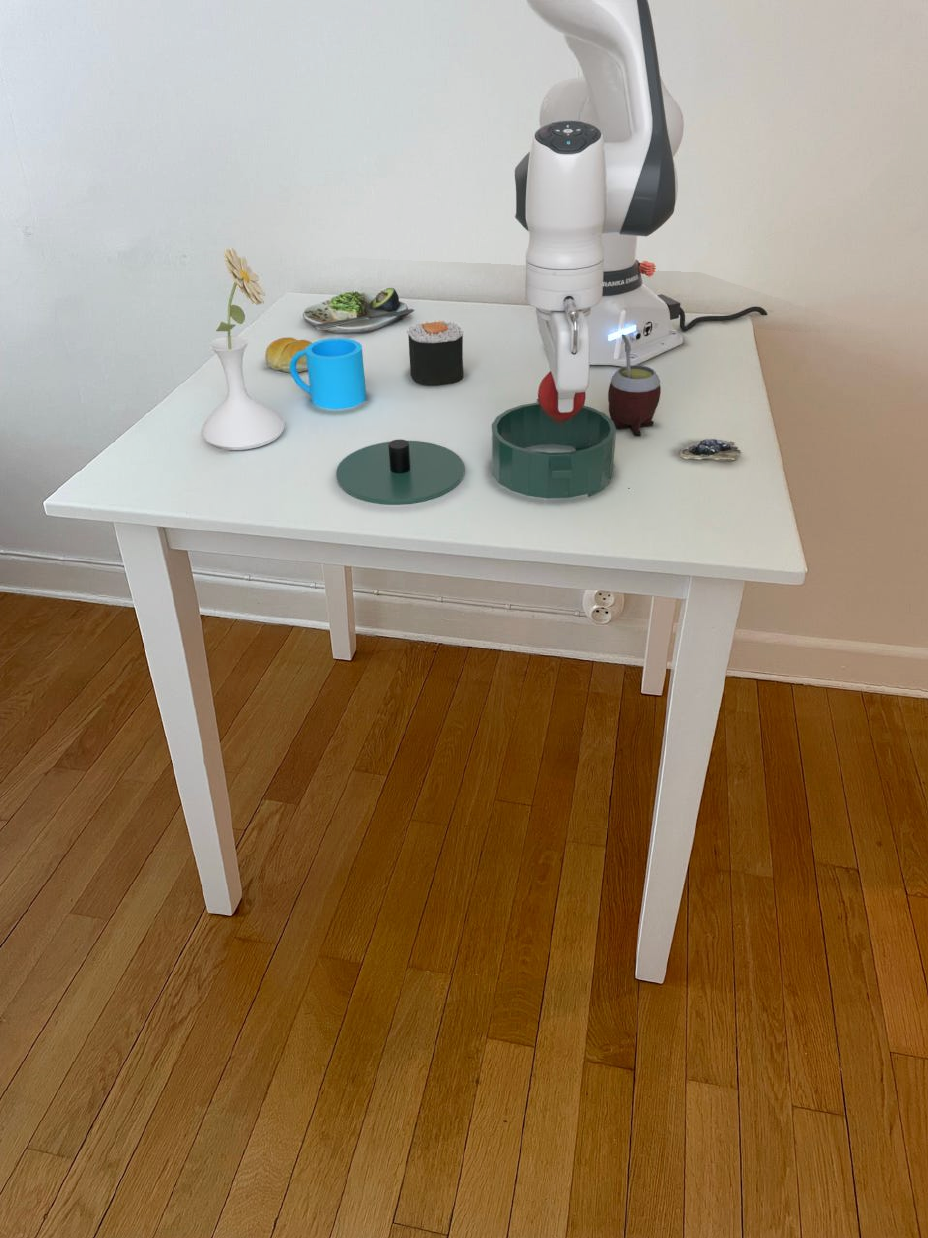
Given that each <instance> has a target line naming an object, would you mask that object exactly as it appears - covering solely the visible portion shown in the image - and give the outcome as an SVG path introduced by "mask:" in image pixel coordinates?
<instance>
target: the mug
mask: <svg viewBox="0 0 928 1238" xmlns="http://www.w3.org/2000/svg"><path fill="white" fill-rule="evenodd" d="M304 355H306V360H307V368H308V370H307V375H308V384H309V385H308V384H307V383H306V382H305V381H303V379H302V377H301V376H300V375H299V372H297V362H298V360H299V358H301V357H302V356H304ZM363 356H364V355H363V345H362V344H361V343H360V342H359V341H356V340H355V339H350V338H343V337H342V338H340V337H335V338H334V337H333V338H326V339H320V340H317V341H314V342H312V344H310V345H309V346H308V347H306V349H305V350H302V351H299V352H298V353H296V354H295V355H294V356H293V357H292V360H291V362H290V372H289V374H290V375H291V378H292V379H293V381H294V383H295V384H296V386H298V387H300V389H301V390H302V391H305V392H306V393H308V394H309V395H310V398H311V403H312V405H314V406H316V407H318V408H321V409H324V410H325V409H326V410H344V409H350V408H353V407H356V406H359V405H361V404H362V403H364V402H367V392H366V391H367V389H366V379H365V378H366V377H365V369H364V368H365V367H364V357H363Z"/></svg>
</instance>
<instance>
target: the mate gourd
mask: <svg viewBox="0 0 928 1238" xmlns="http://www.w3.org/2000/svg"><path fill="white" fill-rule="evenodd" d="M621 336H622V338H623V340H624V342H625V352H626V364H627V366H625V367H622V366H620V368H618V369H617V370H616V371H615V372H614V374H613V375H612V377H611V379H610V383H609V386H608V392H607V401H608V413H609V418H610V419H611V420H612V421H613V422H614V425H615V427H616V431H617V430H627V429H628V430H630V432H631V433H632V434H633V435H634V437H641V436H642V432H641V430H640V428H646V427H647V428H648V427H654V420H653V419H654V415H655V413H656V411H657V408H658V406H659V402H660V399H661V392H662V391H661V390H662V388H661V387H662V386H661V380H660V377H659V375H658V374H657V372H656V371H655V370H654V369H653V368H651V367H649V366H646V365H645V366H644V365H640V364H637V365H630V351H631V345H630V344H629V340H628V338H627V337H626V336H625V335H624V334H622V335H621Z"/></svg>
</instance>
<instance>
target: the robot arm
mask: <svg viewBox="0 0 928 1238" xmlns="http://www.w3.org/2000/svg"><path fill="white" fill-rule="evenodd" d="M524 2H525V3H526V4H527V6H528V8H529V9H530V10H531V12H532V14H534V15H535V16H536V17H537V18H538V19H539V20H540V21H541V22H542V23H544V24H545V25H547V26H548V27H549V28H551V29H553V31H556V32H558V33H560V34H562V36H563V39H564V42H565V44H566V46H567V48H568V49H569V51H570V52H571V53H572V54H573V55H574V57H575V59H576V61H577V63H578V65H579V67H580V70H581V72H582V75H581V76H575V77H574V76H573V77H570V78H566V79H562V80H559V81H557V83H554V84H553V86H551V87H550V88H549V90H548V91H547V92H546V93H545V95H544V97H543V100H542V101H541V105H540V109H539V117H538V118H539V120H538V121H539V128H538V129H537V130H536V131H535V132H534V133H533V135H532V139H531V143H530V150H529V151H528V152H527V153H526V154H525V155H524V156H523V158H522V159H521V160H520V161H519V162H518V164H517V165H516V166H515V168H514V182H515V215H514V218H515V219H516V220H517V221H518V223H519V224H520V225H521V226H522V227H523V228H524V229H525V230H526V231H527V232H528V245H527V247H526V251H525V258H524V259H525V261H524V262H525V273H524V274H525V275H524V276H525V278H524V279H525V282H524V283H525V284H524V285H525V286H524V287H525V290H524V291H525V293H524V294H525V297H524V299H525V301H526V303H527V304H528V305H530V306H531V307H534V308H535V313H536V320H537V326H538V327H537V328H538V330H539V336H540V338H541V342H542V345H543V348H544V351H545V355H546V359H547V362H548V365H549V366H548V367H549V372H550V371H551V372H552V376H553V379H554V383H555V386H556V390H557V392H558V394H557V407H558V410H559V412H561V413H563V412H571V411H572V410H573V401H574V396H575V393H580V392H585V393H586V392H587V391H588V388H589V384H590V366H615V367H625V366H627V364H626V352H625V342H624V340H623V338H622V336H621V335H622V334H624V335H625V336H626V337H627V338H628V340H629V344H630V345H631V351H630V365H640V364H641V363H643V362H644V363H645V362H646V361H647V360H648V361H649V360H650V359H652V358H655V357H657V356H658V355H662V354H663V353H665V352H668V351H670V350H672V349H675V348H676V347H678V346H681V345H683V344H684V337H683V335H682V334H681V333H680V332H679V331H677V330H676V329H674V328H673V327H671V321H672V320H677V319H679V329H680V330H681V331H682V332H688V331H689V330H691V329H692V328H693V327H694V326H695V325H697V324H700V323H704V322H726V321H727V322H728V321H733V320H737V319H739V318H743V317H744V316H747V315H749V314H751V313H754V312H757V313H759V314H760V315H761V316H767V315H768V312H767V311H766V310H765V309H764V308H763V307H761V306H751V307H748V308H745V309H742V310H741V311H738V312H736V313H733V314H728V315H704V316H699V317H695V318H694V319H692V320H691V321H689V323H688V324H686V313H685V311H684V309H683V308H682V307H681V302H680V301H677V300H675V299H673V298H671V297H669V296H667V295H665V294H663V293H661V294H656V293H655V292H654V291H653V290H651V289H650V288H649V287H648V286H647V285H645V284H644V283H643V277H642V275H645V276H647V277H653V275H655V273H656V270H657V268H656V267H657V265H656V264H655V263H654V262H649V261H648V260H643V261H642V262H640V261H639V260H638V259H637V247H638V237H649V236H650V235H652V234H653V233H655V232H656V231H657V230H658V229H660V228H662V226H663V225H664V224H666V223H667V221H668V220H669V219H670V218H671V217H672V216H673V214H675V213H674V212H675V207H676V204H677V201H678V200H677V199H678V191H679V182H678V180H679V179H678V172H677V168H676V164H675V159H674V157H675V156H676V154H677V152H678V151H679V148H680V146H681V144H682V140H683V136H684V129H685V128H684V125H685V124H684V123H685V122H684V115H683V112H682V108H681V107H680V105H679V104H678V102H677V101H676V100H675V98H674V97H673V96H672V95H671V93H670V91H668V89H667V87H666V85H665V83H664V81H663V79H662V76H661V72H660V63H659V56H658V50H657V43H656V37H655V30H654V24H653V19H652V14H651V9H650V4H649V1H648V0H524Z"/></svg>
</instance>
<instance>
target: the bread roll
mask: <svg viewBox="0 0 928 1238" xmlns="http://www.w3.org/2000/svg"><path fill="white" fill-rule="evenodd" d="M312 343H313V342H312V341H309V340H307V339H296V338H294V337H280V338H278V339H276V340H273V342H271V343H270V344H268V346H267V348H266V349H265V355H264V357H265V362H266V365H267V366H268V367H269V368H270V369H272V370H275V371H282V372H284V373H290V362H291V360H292V357H293V356H294V355H295V354H296V353H298V352H299V351H302V350H305V349H306V347H308V346H309V345H310V344H312ZM306 371H308V368H307V360H306V355H304V356H302V357H301V358H299V360H298V362H297V372H298V373H301V372H306Z"/></svg>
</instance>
